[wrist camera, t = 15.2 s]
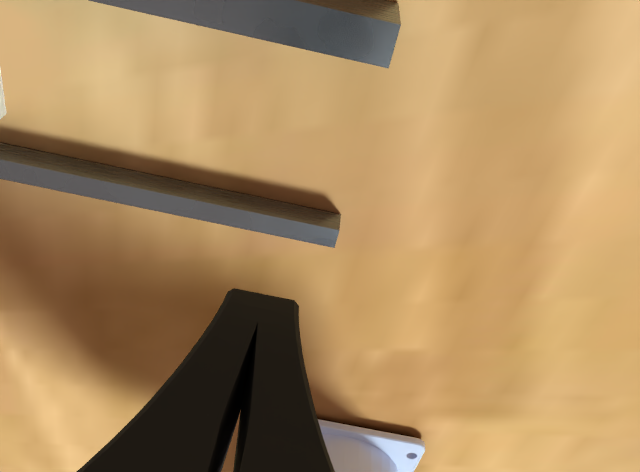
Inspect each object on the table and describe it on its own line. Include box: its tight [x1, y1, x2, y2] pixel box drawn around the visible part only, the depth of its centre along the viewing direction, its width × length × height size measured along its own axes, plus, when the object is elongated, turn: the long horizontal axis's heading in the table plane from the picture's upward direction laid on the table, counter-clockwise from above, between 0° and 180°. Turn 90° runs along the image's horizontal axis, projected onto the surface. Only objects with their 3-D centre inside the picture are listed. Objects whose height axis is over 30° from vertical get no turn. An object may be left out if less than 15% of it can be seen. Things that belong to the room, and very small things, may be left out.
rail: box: [0, 0, 401, 248], centre depth 18 cm, size 8×17×3 cm, turn 79°
